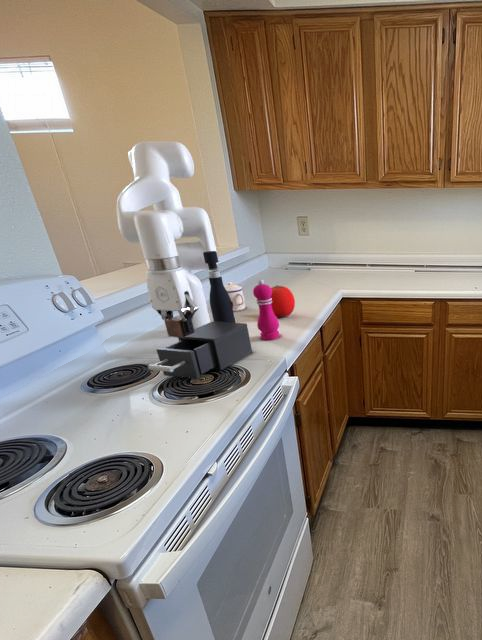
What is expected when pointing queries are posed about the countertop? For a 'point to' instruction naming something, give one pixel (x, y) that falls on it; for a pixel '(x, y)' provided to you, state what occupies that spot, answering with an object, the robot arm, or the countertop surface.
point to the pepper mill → (266, 312)
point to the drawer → (186, 358)
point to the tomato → (282, 301)
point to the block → (174, 327)
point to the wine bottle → (218, 291)
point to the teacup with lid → (235, 296)
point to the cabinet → (224, 341)
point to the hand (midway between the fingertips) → (181, 333)
